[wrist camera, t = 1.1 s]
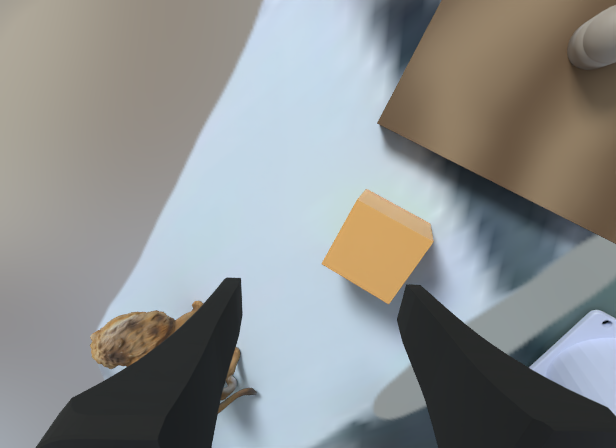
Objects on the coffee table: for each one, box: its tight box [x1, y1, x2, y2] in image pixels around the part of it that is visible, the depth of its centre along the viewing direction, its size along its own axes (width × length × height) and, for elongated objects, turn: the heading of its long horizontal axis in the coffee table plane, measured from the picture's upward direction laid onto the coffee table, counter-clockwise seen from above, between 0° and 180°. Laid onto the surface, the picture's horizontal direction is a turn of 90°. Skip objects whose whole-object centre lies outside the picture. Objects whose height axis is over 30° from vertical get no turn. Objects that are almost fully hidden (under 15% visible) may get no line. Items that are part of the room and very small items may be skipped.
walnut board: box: [377, 0, 616, 244], centre depth 15 cm, size 16×16×4 cm
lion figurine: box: [90, 301, 257, 413], centre depth 28 cm, size 15×5×9 cm, turn 44°
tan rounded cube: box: [322, 189, 434, 304], centre depth 21 cm, size 5×5×4 cm
